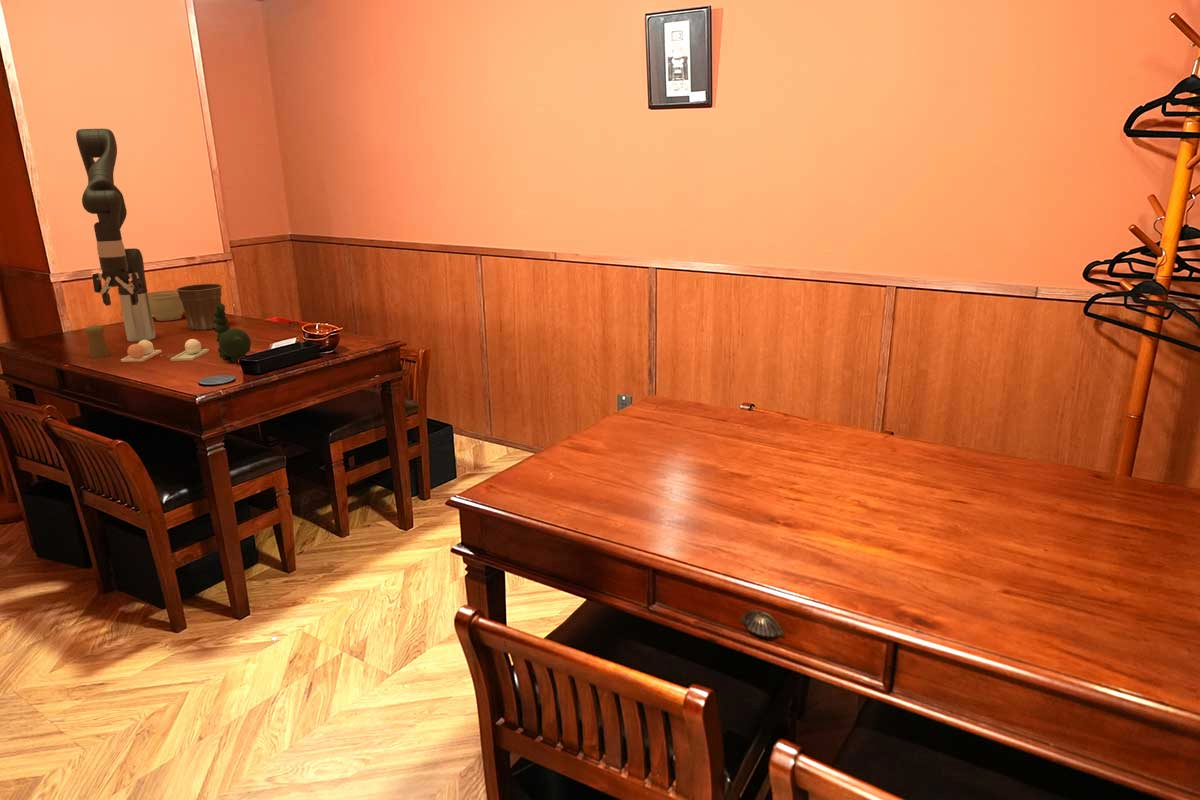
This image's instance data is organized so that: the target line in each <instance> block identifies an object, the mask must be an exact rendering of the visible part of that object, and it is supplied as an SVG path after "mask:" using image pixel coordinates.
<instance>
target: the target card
mask: <svg viewBox="0 0 1200 800" xmlns="http://www.w3.org/2000/svg"><path fill="white" fill-rule="evenodd" d="M174 356H175V354H174V353H171V354H169V355H167V356H166V358H172V357H174ZM161 357H164V355H163V354H160V355H159V358H161Z"/></svg>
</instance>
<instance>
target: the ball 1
mask: <svg viewBox="0 0 1200 800" xmlns="http://www.w3.org/2000/svg"><path fill="white" fill-rule="evenodd" d="M126 352H127V356H130V357H131V358H133V359H139V358H141V357H143V355H144V353H145V350H144V348H143V347H142V346H141V345H139V344H138V343H132V344H130V345H129V346H128V347H127V351H126Z"/></svg>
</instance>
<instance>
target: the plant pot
mask: <svg viewBox="0 0 1200 800" xmlns="http://www.w3.org/2000/svg"><path fill="white" fill-rule="evenodd" d="M222 287H223V285H222V284H219V283H197V284H191V285H185V286H180V287H177V288H176V289H175V290H176V291H178V294H179V297H180V300H181V301H182V304H183V308H184V314H185V317H186V322H187V325H188V328H189V330H190V331H194V330H196V331H208V330H207V329H209V330H214V329H213V328H216V326H217V325H216V324H215V323H214V322H213V320H214V319H215V318H216V317H215V316H214V315H213V313H214V312H215V311H216V310H217V309H216V307H217V305H218V304H220V303H221V304H222V298H221V297H222Z"/></svg>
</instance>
